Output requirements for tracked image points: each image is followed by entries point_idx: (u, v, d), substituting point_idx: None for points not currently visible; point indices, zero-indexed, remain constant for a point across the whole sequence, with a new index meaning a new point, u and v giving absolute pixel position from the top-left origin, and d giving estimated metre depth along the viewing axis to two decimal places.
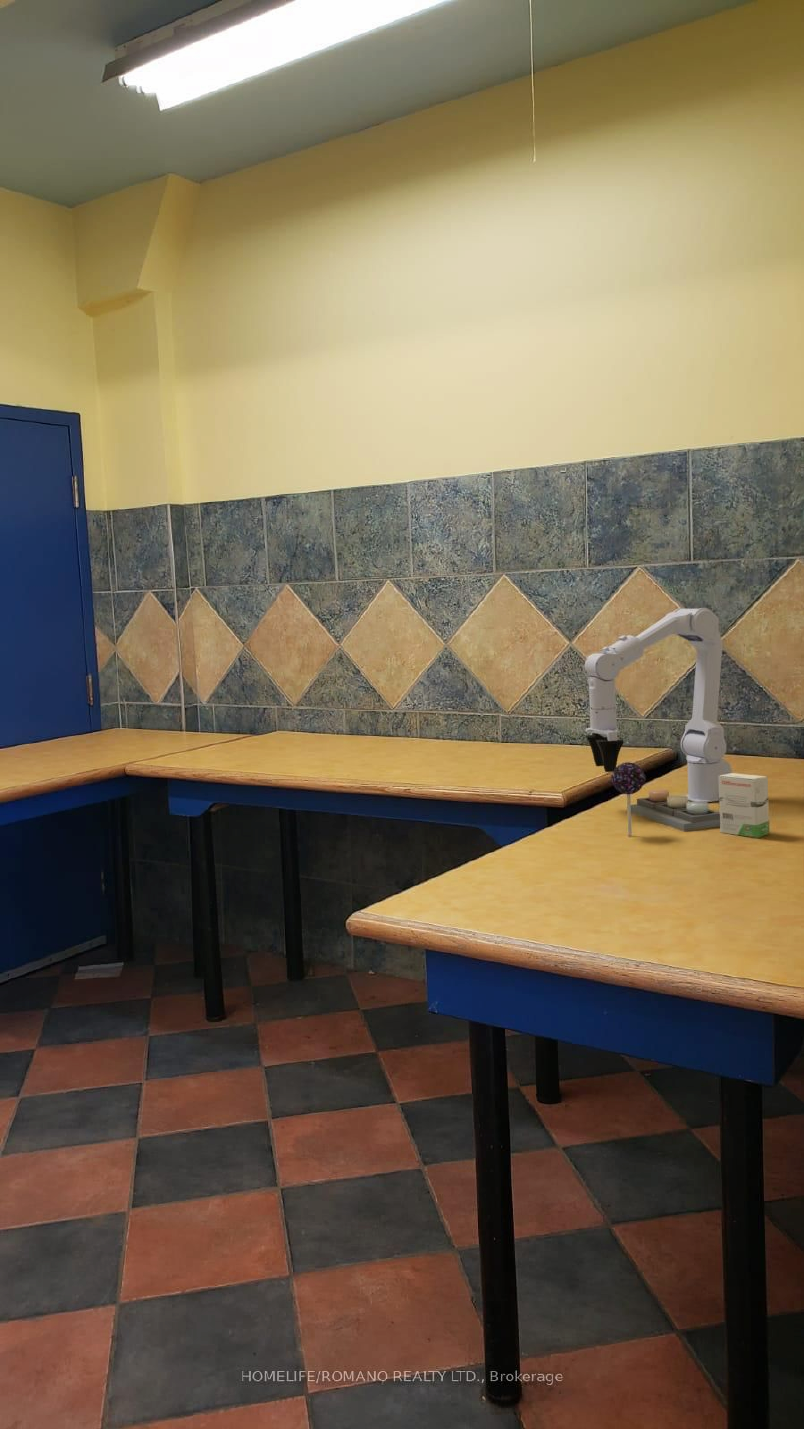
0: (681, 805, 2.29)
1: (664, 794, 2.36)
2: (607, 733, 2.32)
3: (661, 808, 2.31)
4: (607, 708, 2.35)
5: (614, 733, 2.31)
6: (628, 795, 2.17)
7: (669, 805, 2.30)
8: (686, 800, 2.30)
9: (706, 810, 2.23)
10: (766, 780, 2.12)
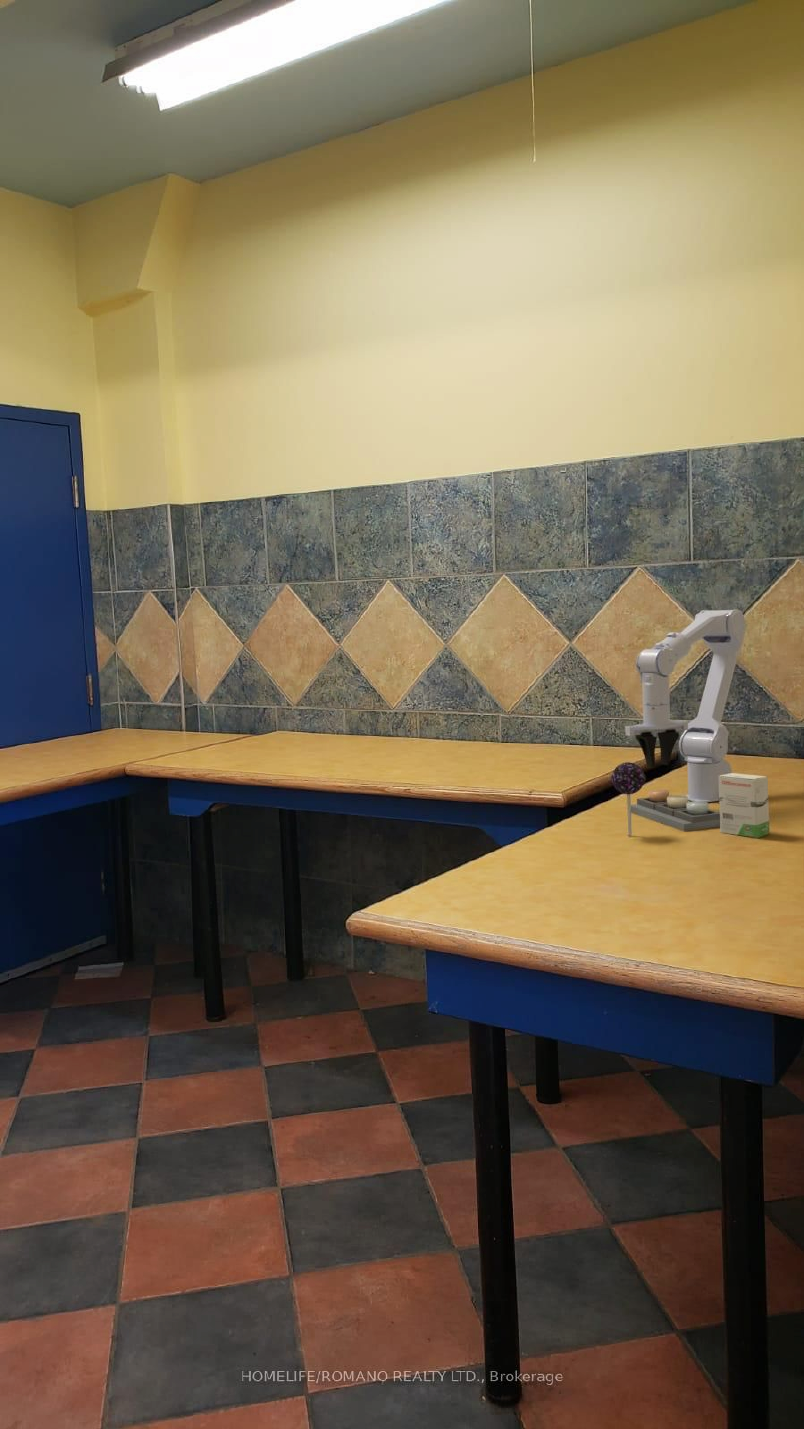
0: (681, 805, 2.29)
1: (664, 794, 2.36)
2: None
3: (661, 808, 2.31)
4: (645, 704, 2.35)
5: (628, 728, 2.34)
6: (628, 795, 2.17)
7: (669, 805, 2.30)
8: (686, 800, 2.30)
9: (706, 810, 2.23)
10: (766, 780, 2.12)
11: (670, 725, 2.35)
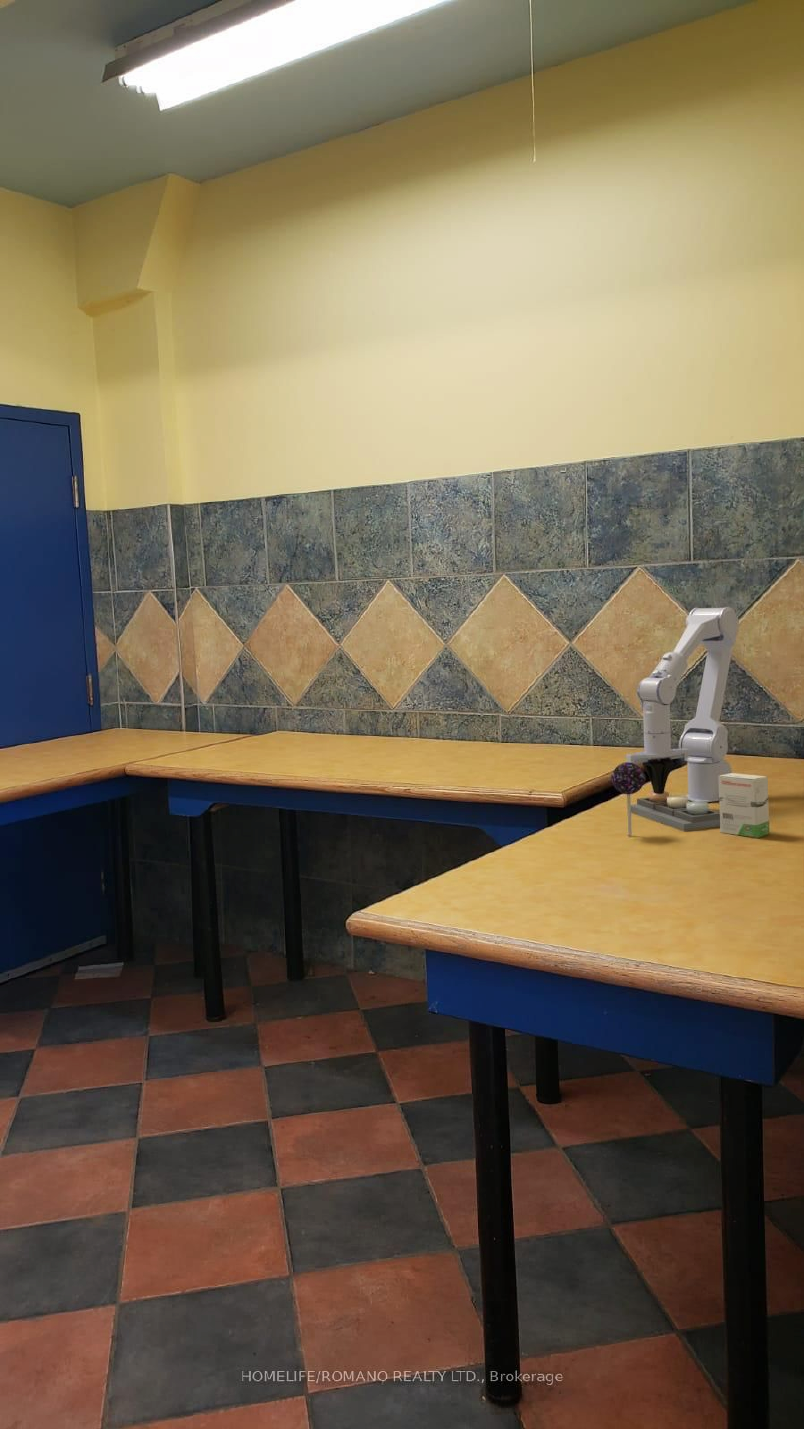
0: (681, 805, 2.29)
1: (664, 795, 2.36)
2: None
3: (661, 808, 2.31)
4: (646, 732, 2.36)
5: (629, 756, 2.35)
6: (628, 795, 2.17)
7: (669, 805, 2.30)
8: (686, 800, 2.30)
9: (706, 810, 2.23)
10: (766, 780, 2.12)
11: (671, 753, 2.35)
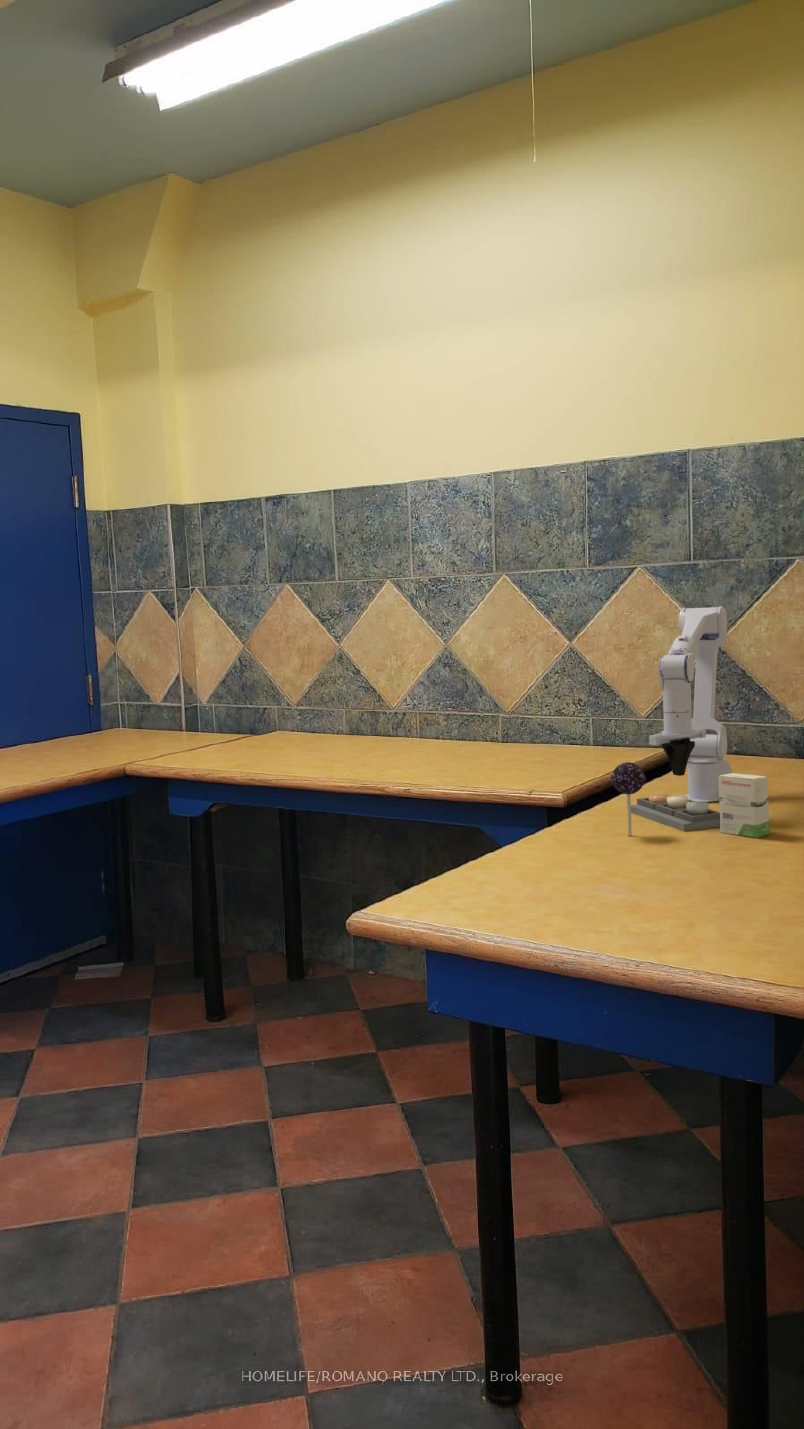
0: (681, 805, 2.29)
1: (664, 798, 2.36)
2: None
3: (661, 808, 2.31)
4: (668, 712, 2.26)
5: (653, 737, 2.25)
6: (628, 795, 2.17)
7: (669, 805, 2.30)
8: (686, 800, 2.30)
9: (706, 810, 2.23)
10: (766, 780, 2.12)
11: (693, 733, 2.27)
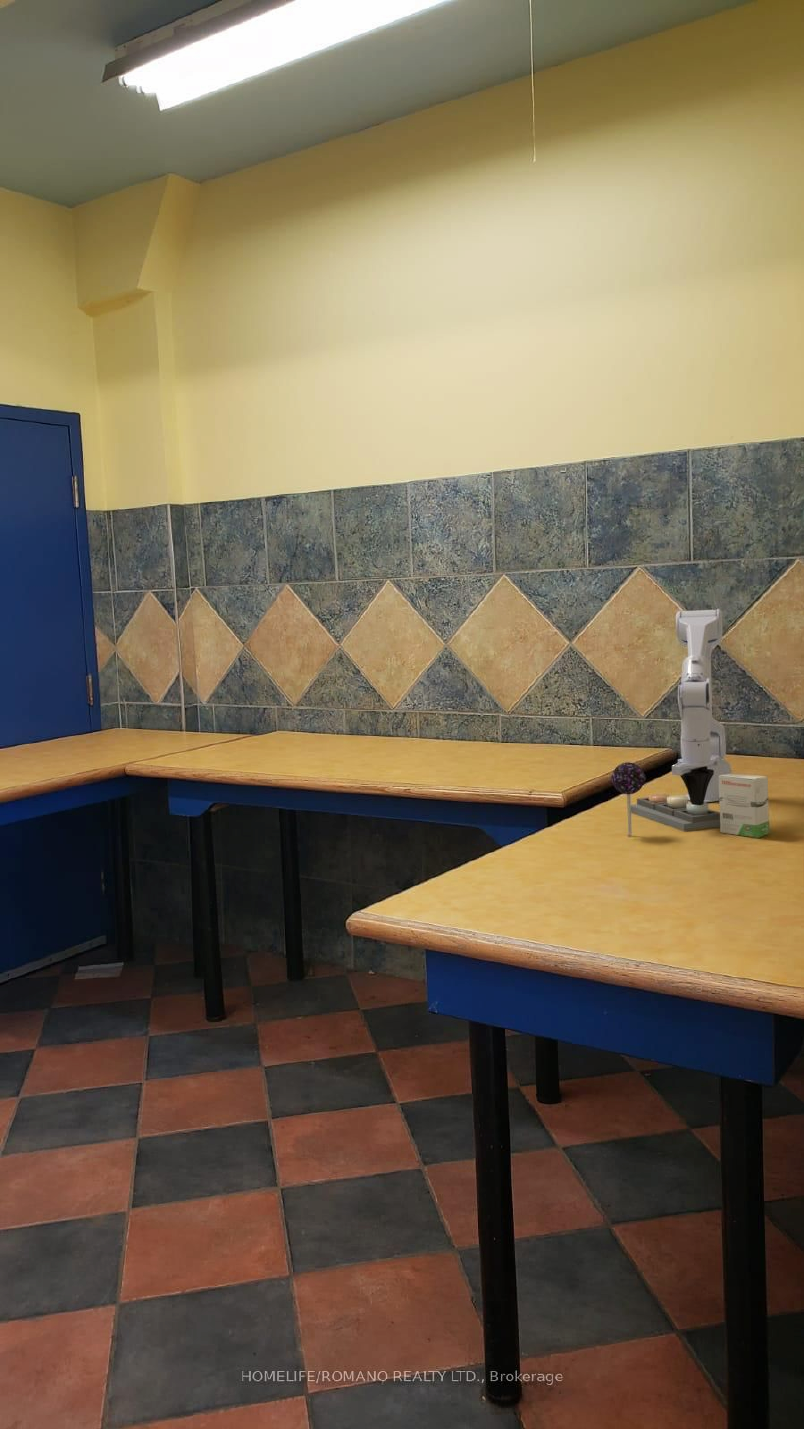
0: (681, 805, 2.29)
1: (664, 798, 2.36)
2: None
3: (661, 808, 2.31)
4: (688, 740, 2.20)
5: (677, 767, 2.18)
6: (628, 795, 2.17)
7: (669, 805, 2.30)
8: (686, 800, 2.30)
9: (706, 811, 2.23)
10: (766, 780, 2.12)
11: (712, 761, 2.22)
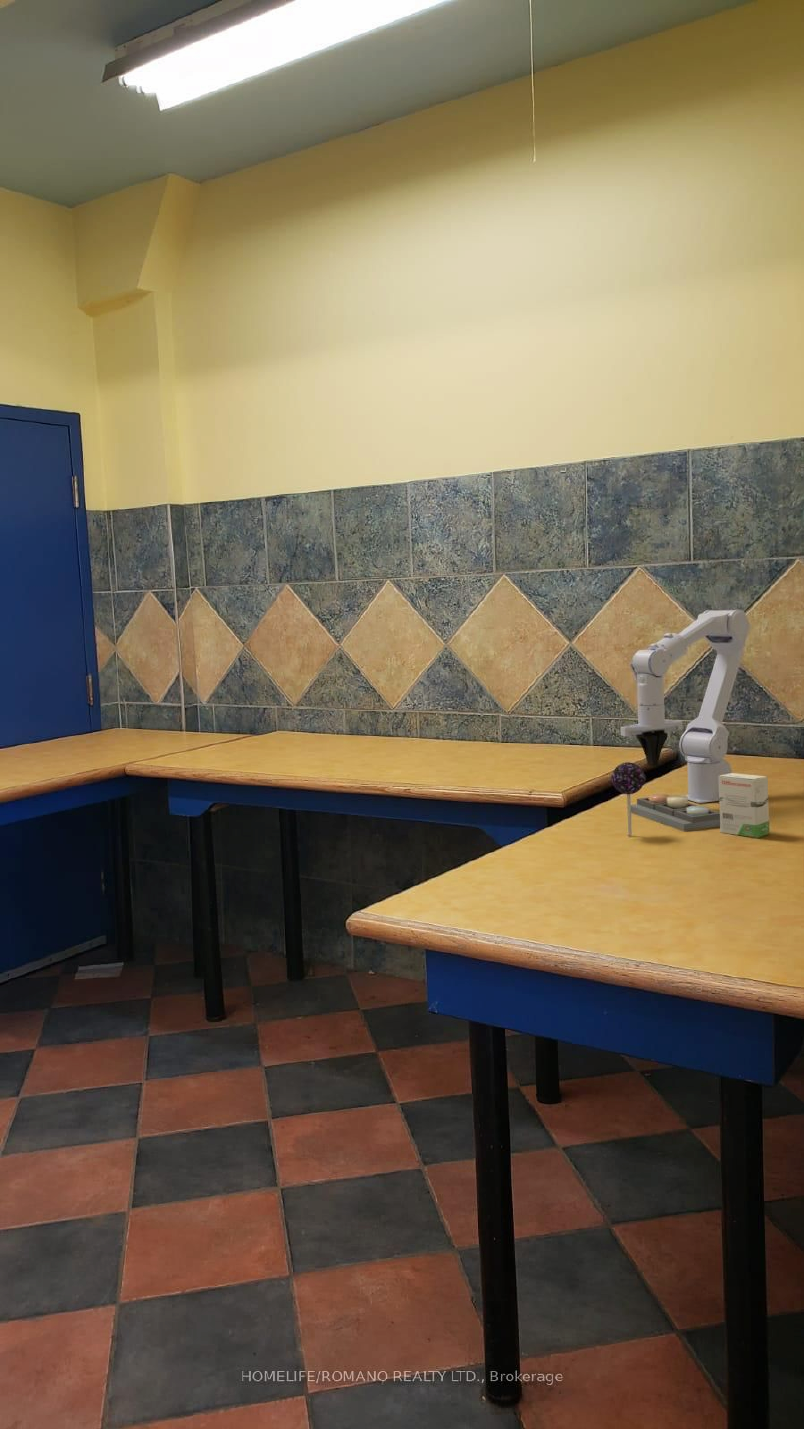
0: (681, 805, 2.29)
1: (664, 798, 2.36)
2: None
3: (661, 808, 2.31)
4: (640, 704, 2.36)
5: (623, 729, 2.35)
6: (628, 795, 2.17)
7: (669, 805, 2.30)
8: (686, 800, 2.30)
9: None
10: (766, 780, 2.12)
11: (665, 725, 2.36)
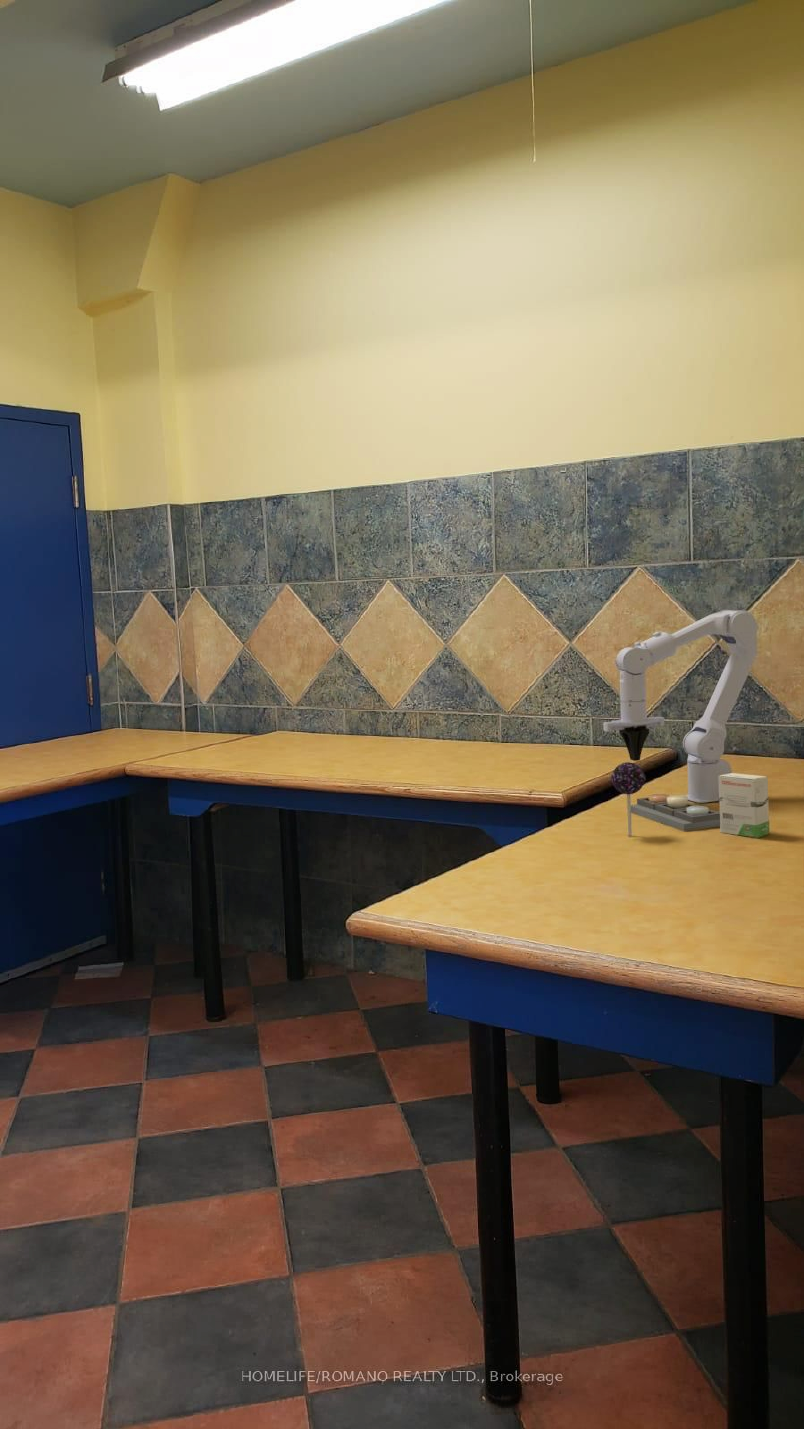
0: (681, 805, 2.29)
1: (664, 798, 2.36)
2: None
3: (661, 808, 2.31)
4: (622, 701, 2.43)
5: (606, 724, 2.42)
6: (628, 795, 2.17)
7: (669, 805, 2.30)
8: (686, 800, 2.30)
9: None
10: (766, 780, 2.12)
11: (646, 721, 2.43)
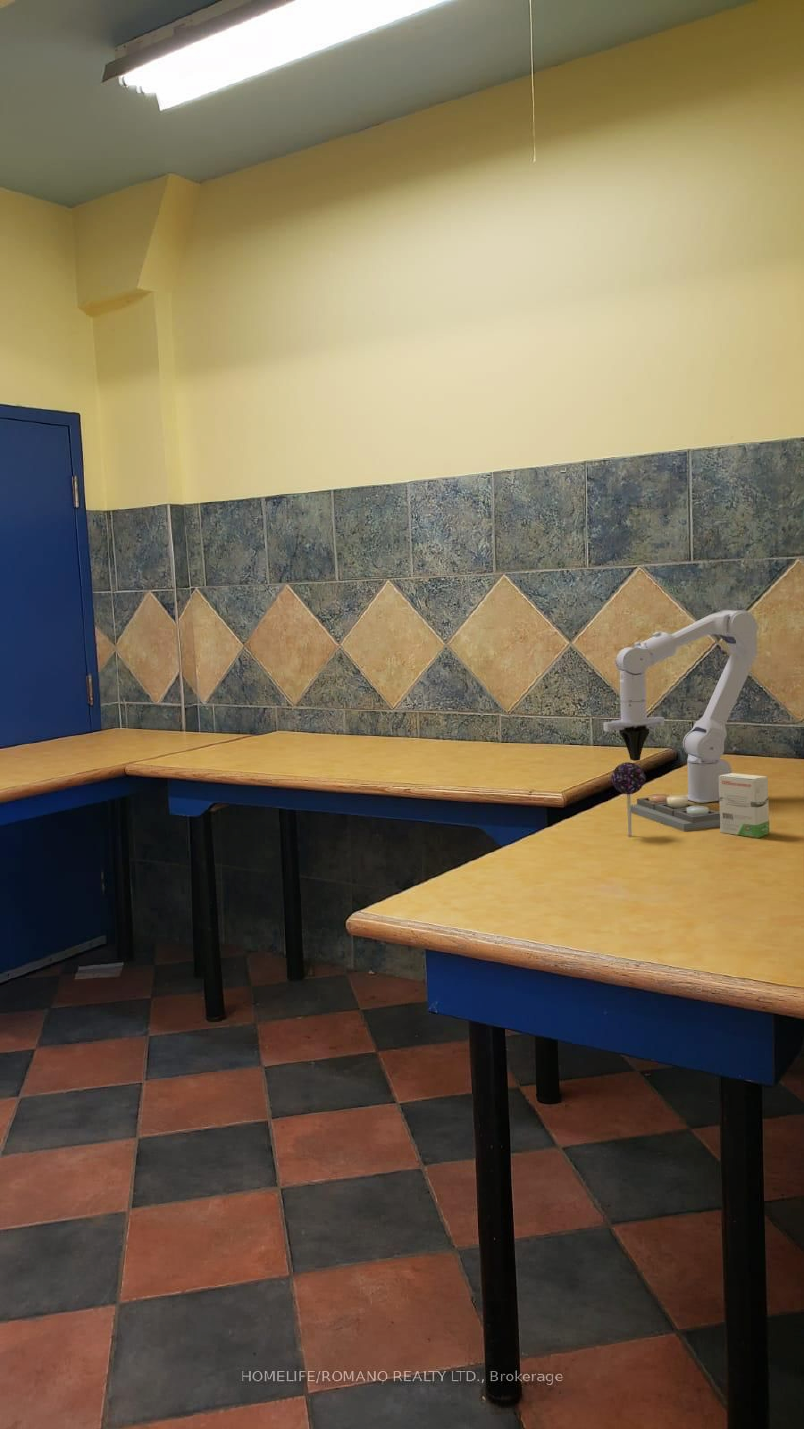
0: (681, 805, 2.29)
1: (664, 798, 2.36)
2: None
3: (661, 808, 2.31)
4: (622, 701, 2.43)
5: (606, 724, 2.42)
6: (628, 795, 2.17)
7: (669, 805, 2.30)
8: (686, 800, 2.30)
9: None
10: (766, 780, 2.12)
11: (646, 721, 2.43)
